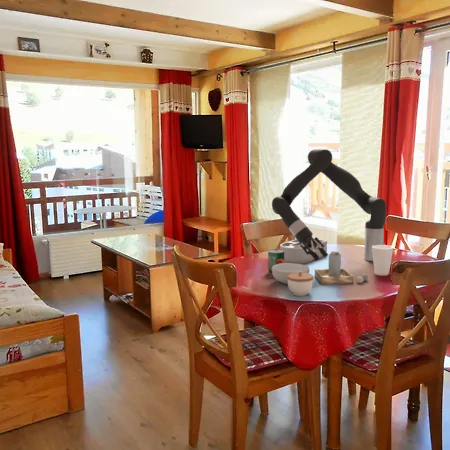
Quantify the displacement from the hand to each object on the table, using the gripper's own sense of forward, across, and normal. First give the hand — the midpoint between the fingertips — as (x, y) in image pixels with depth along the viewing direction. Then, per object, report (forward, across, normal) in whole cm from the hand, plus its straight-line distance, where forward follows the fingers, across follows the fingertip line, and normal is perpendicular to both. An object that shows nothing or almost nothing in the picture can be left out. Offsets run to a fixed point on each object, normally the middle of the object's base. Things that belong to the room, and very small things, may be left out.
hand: (322, 258), depth 218 cm
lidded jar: (+9, -26, +5) cm, 28 cm away
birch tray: (+10, 0, +3) cm, 11 cm away
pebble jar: (+10, 0, +2) cm, 11 cm away
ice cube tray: (-12, +30, +26) cm, 42 cm away
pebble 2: (+19, +5, -6) cm, 21 cm away
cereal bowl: (+1, -14, +13) cm, 19 cm away
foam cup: (+21, +22, -8) cm, 31 cm away
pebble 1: (+19, +1, -6) cm, 20 cm away
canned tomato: (-9, -4, +23) cm, 25 cm away
